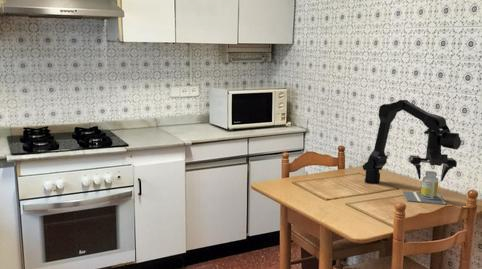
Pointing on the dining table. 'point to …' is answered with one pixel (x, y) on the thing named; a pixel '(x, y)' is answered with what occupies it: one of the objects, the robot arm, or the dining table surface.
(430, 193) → the pill bottle
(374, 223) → the dining table surface
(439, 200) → the mat
